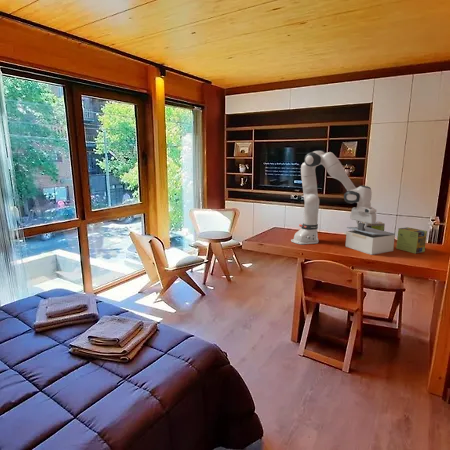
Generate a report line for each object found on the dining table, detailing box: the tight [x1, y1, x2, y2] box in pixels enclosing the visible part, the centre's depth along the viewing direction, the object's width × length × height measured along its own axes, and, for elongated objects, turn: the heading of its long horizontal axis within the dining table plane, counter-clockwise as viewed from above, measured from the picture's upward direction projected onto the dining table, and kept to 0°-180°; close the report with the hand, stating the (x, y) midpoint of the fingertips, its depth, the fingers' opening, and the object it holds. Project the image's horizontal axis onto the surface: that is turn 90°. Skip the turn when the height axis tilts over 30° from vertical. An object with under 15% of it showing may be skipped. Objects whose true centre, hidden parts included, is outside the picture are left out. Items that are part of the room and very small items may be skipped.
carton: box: [345, 229, 396, 256], centre depth 240 cm, size 22×24×12 cm
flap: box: [346, 222, 396, 236], centre depth 238 cm, size 22×24×6 cm
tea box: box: [361, 220, 385, 231], centre depth 266 cm, size 15×10×15 cm
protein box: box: [395, 226, 428, 254], centre depth 236 cm, size 10×15×16 cm
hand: (361, 227), depth 234 cm, fingers open, 4 cm apart
